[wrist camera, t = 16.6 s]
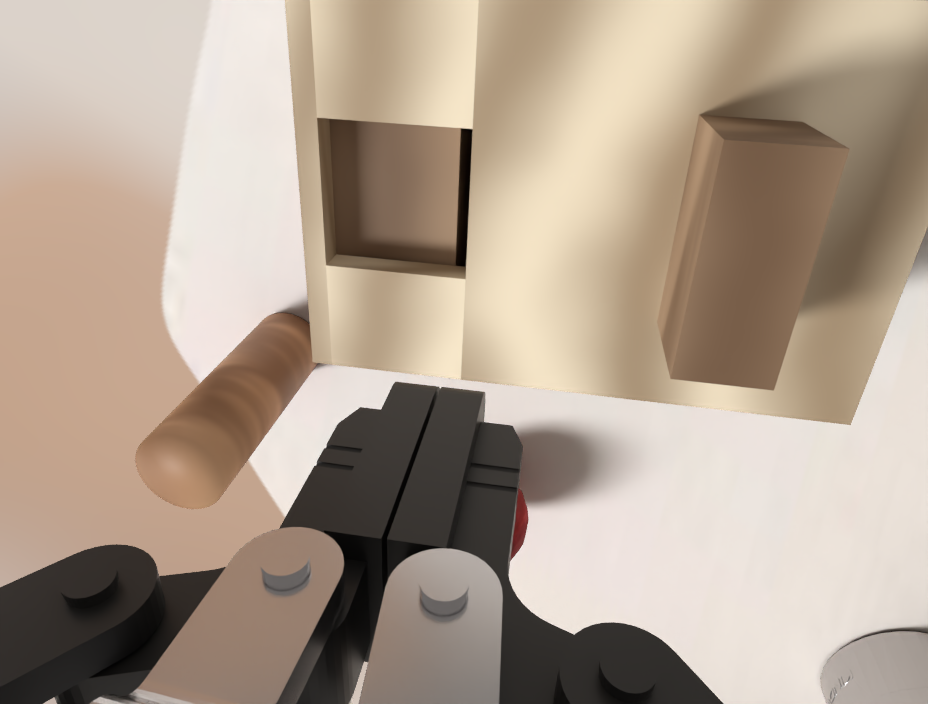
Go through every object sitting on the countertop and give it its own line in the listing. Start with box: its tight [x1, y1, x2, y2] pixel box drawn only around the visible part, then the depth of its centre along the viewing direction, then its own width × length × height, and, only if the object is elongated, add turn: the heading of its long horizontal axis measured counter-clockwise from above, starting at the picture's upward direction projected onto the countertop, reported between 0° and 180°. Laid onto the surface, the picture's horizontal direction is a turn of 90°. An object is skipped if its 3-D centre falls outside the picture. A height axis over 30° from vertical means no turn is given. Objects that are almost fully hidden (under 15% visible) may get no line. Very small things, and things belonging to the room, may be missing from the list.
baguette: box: [135, 313, 318, 509], centre depth 34 cm, size 4×4×12 cm
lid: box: [285, 0, 928, 425], centre depth 21 cm, size 20×14×5 cm, turn 88°
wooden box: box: [329, 119, 473, 267], centre depth 27 cm, size 20×14×9 cm
